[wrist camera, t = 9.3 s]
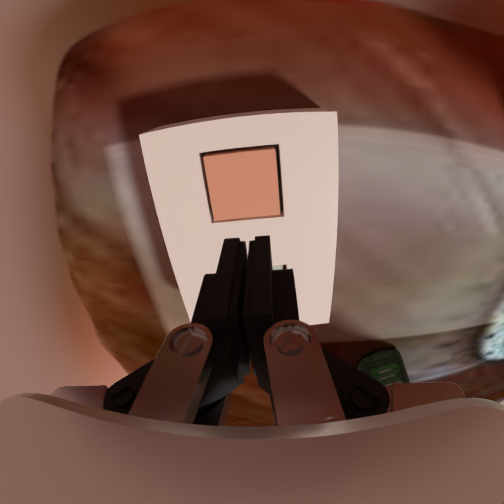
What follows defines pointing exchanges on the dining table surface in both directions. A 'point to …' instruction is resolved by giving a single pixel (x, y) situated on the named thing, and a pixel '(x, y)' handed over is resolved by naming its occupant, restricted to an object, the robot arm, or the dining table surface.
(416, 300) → the dining table surface
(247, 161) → the terracotta button
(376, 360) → the coffee jar
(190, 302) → the button panel
